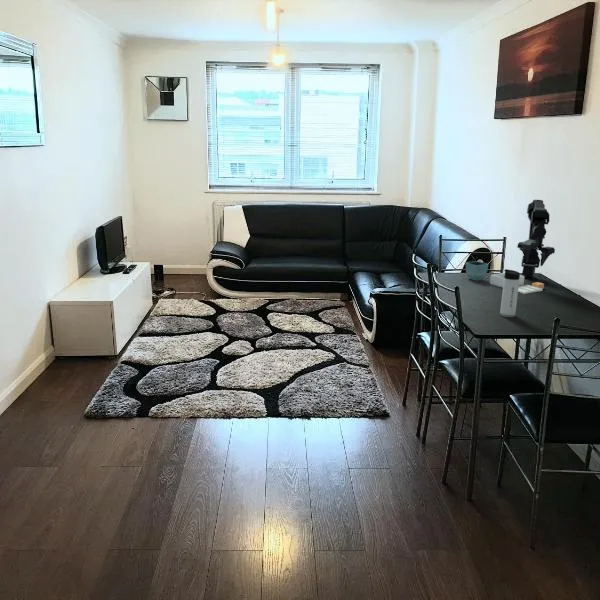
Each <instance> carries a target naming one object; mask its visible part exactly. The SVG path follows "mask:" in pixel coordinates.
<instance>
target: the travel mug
mask: <svg viewBox="0 0 600 600" xmlns="http://www.w3.org/2000/svg"><path fill="white" fill-rule="evenodd" d="M503 272H504V273H505V276H504V284H503V288H502V293H501V294H502V295H501V302H500V310H499V311H500V312H499V316H502V317H504V318H515V317H516V311H517V303H518V295H519V292H518V288H519V278H520V275H521V273H520V272H519V271H516V270H513V269H504V271H503Z"/></svg>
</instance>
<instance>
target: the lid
mask: <svg viewBox="0 0 600 600" xmlns="http://www.w3.org/2000/svg"><path fill="white" fill-rule="evenodd" d="M544 288H545V283H542V282H539V281H537V282H532V283H531V285H529V284H524V285H521V286H519V288H518V293H519V292H520V293H519V294H523V295H526V294H531V293H537V292H543V289H544Z"/></svg>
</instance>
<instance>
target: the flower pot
mask: <svg viewBox="0 0 600 600" xmlns="http://www.w3.org/2000/svg"><path fill="white" fill-rule="evenodd" d="M488 268H489V264H488V263H486V262H481V261H478V260H477V261H467V262H465V273H466V276H467V278H468V279H469V280H472V281H482V280H483V279H484V278H485V277H486V275H487V272H488Z"/></svg>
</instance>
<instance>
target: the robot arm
mask: <svg viewBox="0 0 600 600" xmlns="http://www.w3.org/2000/svg"><path fill="white" fill-rule="evenodd" d="M526 214H527V218H528V220H529V222H530V223H529V231H528V239H526V240H525V241H519V242H518V244H517V246H516V248H518V249H519V250H520V251H521V252H522V259H521V263H520V265H521V267H522V272H521V275H522V276H524V279H528V280H532V279H537V276H536V275H535V273H536V269H538V268H540V267H542V266H544V264H545V263H546V260H548V258H549V257H550V256H551V255H553V254H555V251H556V250H555V249H556V248H555V247H552V246H545V244H544V243H543V240H544V239H546V234H547V229H546V227H545V225H549V223H550V212H549V211H548V209H547V208H546V205H545V204H544V200H543V199H533V200H532V202H530V203H528V205H527V209H526ZM539 251H540V252H541V253H540V254H539ZM539 255H540V256H539Z"/></svg>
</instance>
